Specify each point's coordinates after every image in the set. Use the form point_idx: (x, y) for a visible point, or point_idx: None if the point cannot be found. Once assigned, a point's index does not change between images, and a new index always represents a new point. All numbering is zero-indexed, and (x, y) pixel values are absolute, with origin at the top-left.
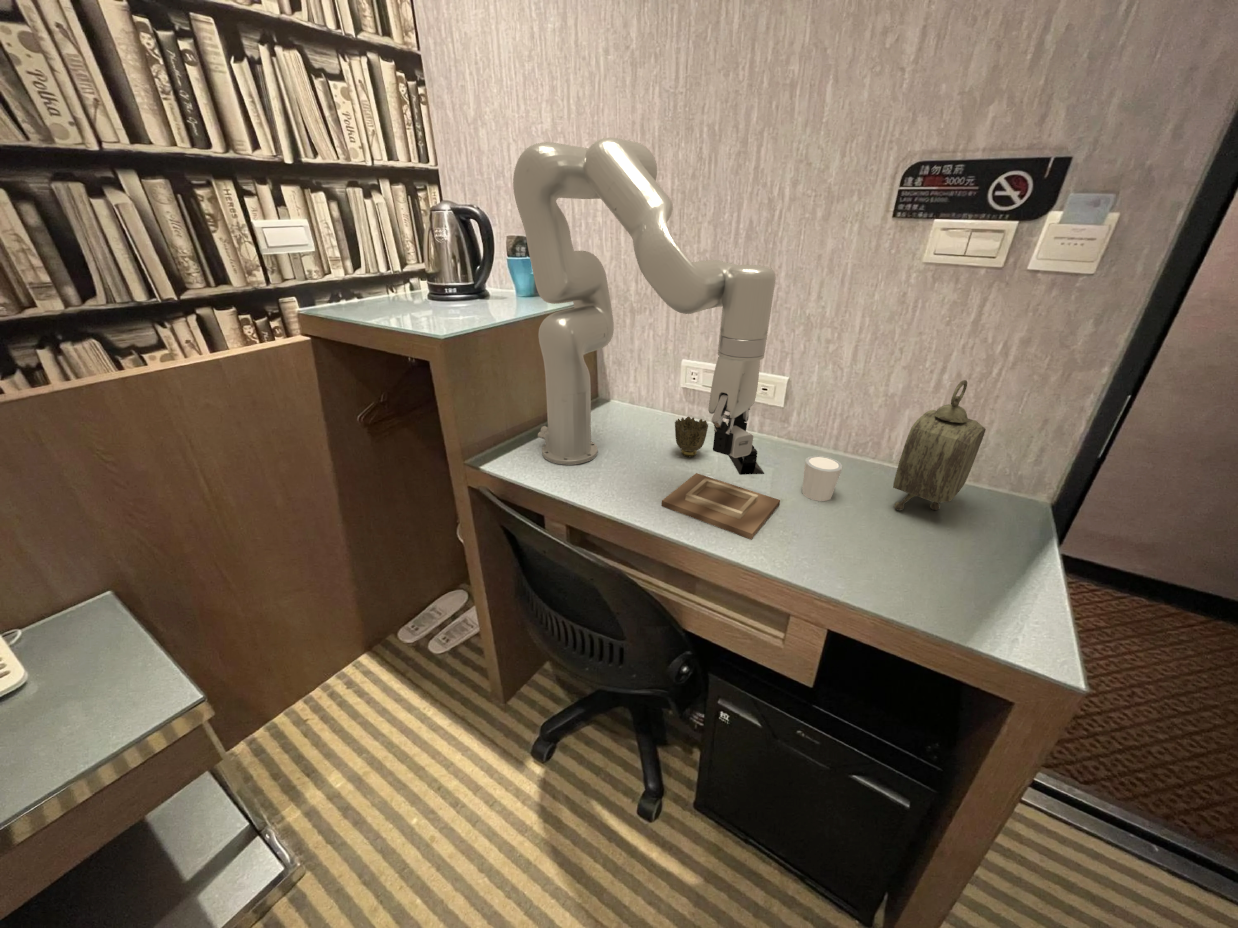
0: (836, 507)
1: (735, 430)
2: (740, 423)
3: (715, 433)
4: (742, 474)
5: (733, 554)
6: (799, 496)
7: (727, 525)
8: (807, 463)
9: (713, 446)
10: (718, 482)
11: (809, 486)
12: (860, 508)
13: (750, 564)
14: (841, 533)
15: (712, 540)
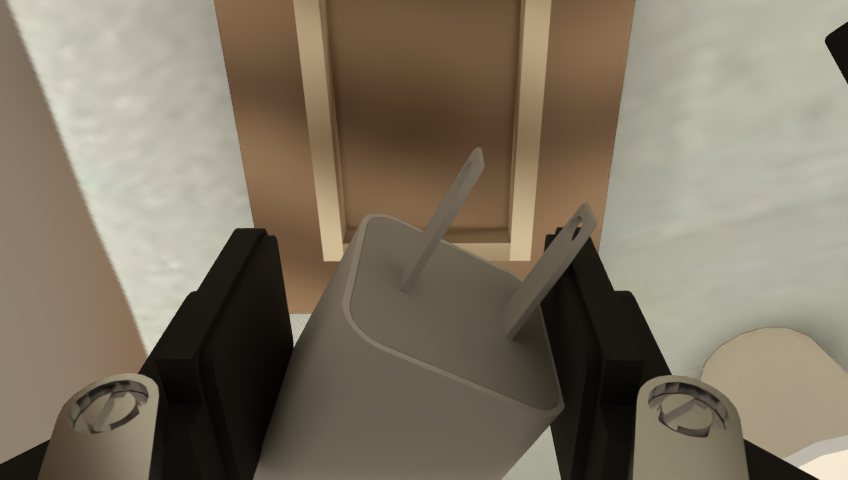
0: None
1: (398, 458)
2: (577, 466)
3: (174, 341)
4: (830, 51)
5: (150, 283)
6: (704, 332)
7: (254, 221)
8: (806, 450)
9: (227, 247)
10: (545, 45)
11: (728, 394)
12: None
13: (150, 340)
14: (513, 476)
15: (158, 194)
